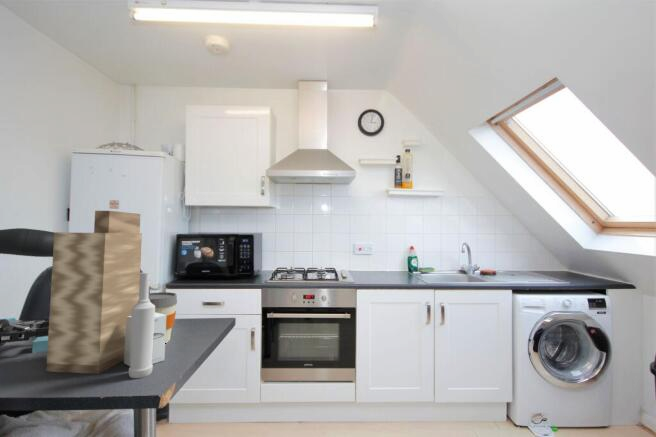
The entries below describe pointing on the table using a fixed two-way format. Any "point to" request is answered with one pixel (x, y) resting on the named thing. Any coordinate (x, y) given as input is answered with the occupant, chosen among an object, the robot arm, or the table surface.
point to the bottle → (142, 332)
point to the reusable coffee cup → (165, 308)
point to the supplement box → (158, 339)
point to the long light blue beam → (40, 344)
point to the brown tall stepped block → (93, 293)
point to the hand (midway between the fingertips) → (56, 327)
